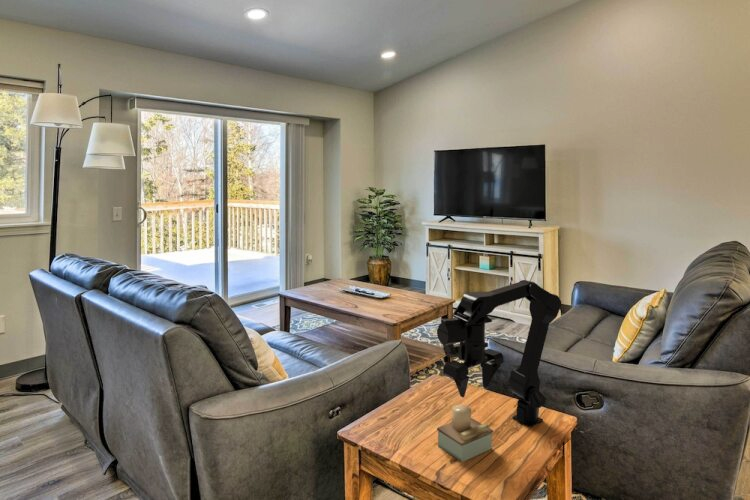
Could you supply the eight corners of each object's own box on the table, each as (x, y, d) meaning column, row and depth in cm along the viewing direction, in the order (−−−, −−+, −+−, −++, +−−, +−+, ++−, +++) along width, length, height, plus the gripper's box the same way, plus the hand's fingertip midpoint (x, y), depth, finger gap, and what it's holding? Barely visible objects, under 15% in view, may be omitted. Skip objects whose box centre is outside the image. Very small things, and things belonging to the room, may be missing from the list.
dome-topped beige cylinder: (474, 427, 123) (475, 410, 122) (461, 433, 120) (461, 415, 119) (461, 420, 127) (461, 403, 126) (447, 425, 124) (448, 408, 123)
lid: (467, 417, 129) (467, 410, 129) (492, 432, 122) (493, 424, 121) (436, 429, 123) (437, 422, 122) (461, 445, 115) (461, 437, 115)
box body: (466, 433, 129) (467, 419, 129) (491, 448, 122) (492, 433, 122) (437, 445, 123) (438, 430, 123) (461, 462, 116) (462, 446, 115)
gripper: (475, 325, 138) (475, 374, 140) (429, 338, 127) (429, 391, 129) (505, 334, 129) (504, 386, 131) (458, 349, 118) (458, 406, 120)
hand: (473, 392), depth 128 cm, fingers open, 9 cm apart
